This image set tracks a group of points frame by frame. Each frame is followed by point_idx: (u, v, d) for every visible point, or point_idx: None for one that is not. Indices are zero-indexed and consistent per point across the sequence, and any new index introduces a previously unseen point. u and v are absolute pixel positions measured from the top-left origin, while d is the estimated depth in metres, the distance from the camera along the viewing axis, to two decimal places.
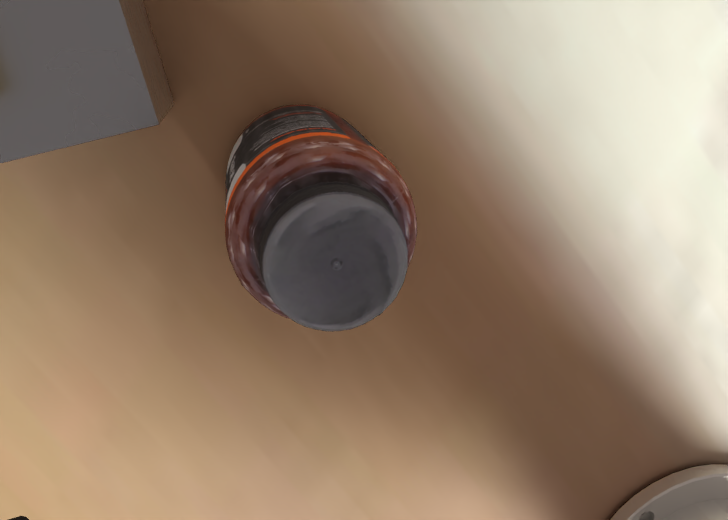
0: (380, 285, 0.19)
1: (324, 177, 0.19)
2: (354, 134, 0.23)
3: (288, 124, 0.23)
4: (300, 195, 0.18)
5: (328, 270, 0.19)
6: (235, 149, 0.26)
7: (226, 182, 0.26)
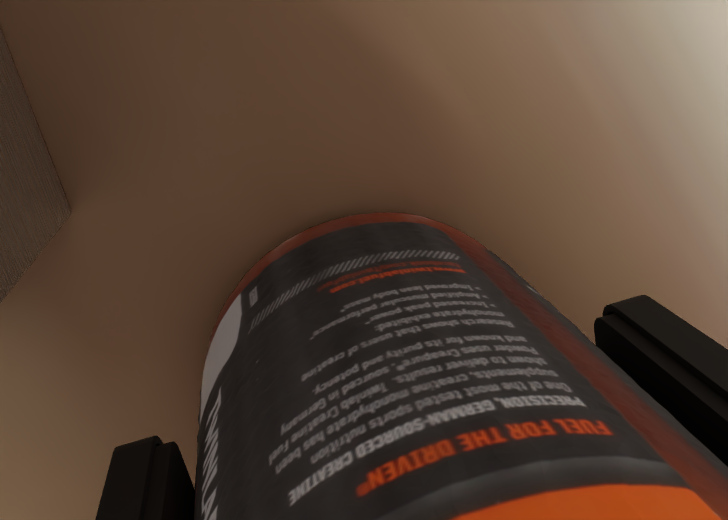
0: None
1: None
2: (627, 394, 0.07)
3: (399, 357, 0.07)
4: None
5: None
6: (222, 353, 0.10)
7: (197, 453, 0.09)
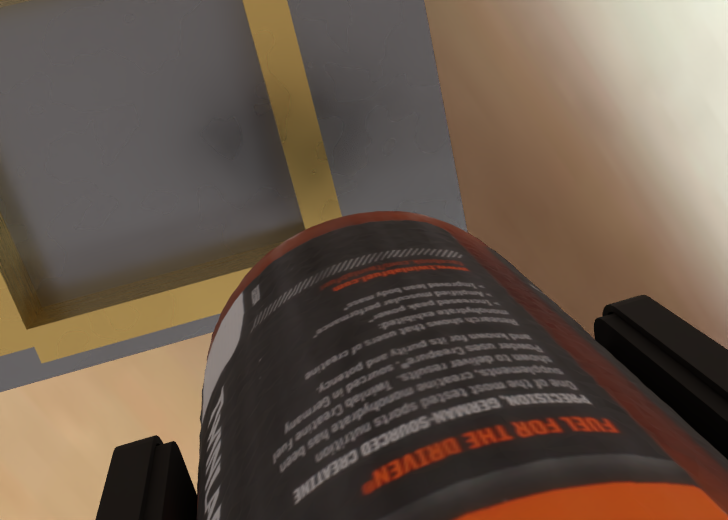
0: None
1: None
2: (633, 392, 0.07)
3: (404, 355, 0.07)
4: None
5: None
6: (224, 351, 0.10)
7: (200, 451, 0.09)
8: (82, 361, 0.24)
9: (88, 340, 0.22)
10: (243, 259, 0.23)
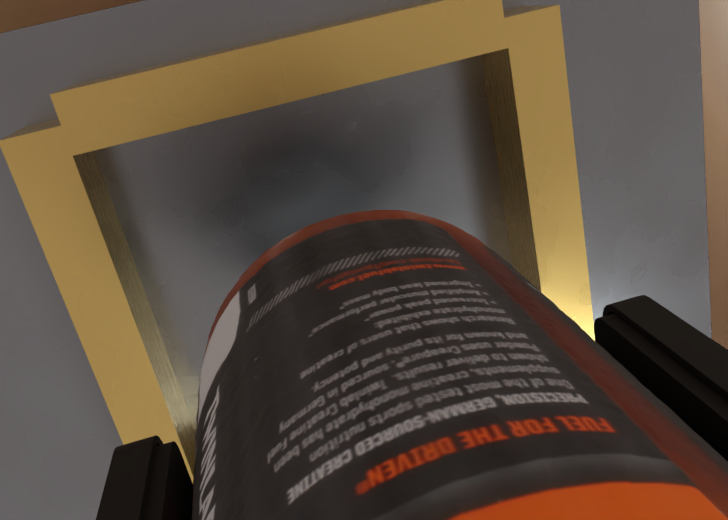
0: None
1: None
2: (630, 391, 0.07)
3: (399, 354, 0.07)
4: None
5: None
6: (220, 351, 0.10)
7: (195, 451, 0.09)
8: None
9: None
10: None
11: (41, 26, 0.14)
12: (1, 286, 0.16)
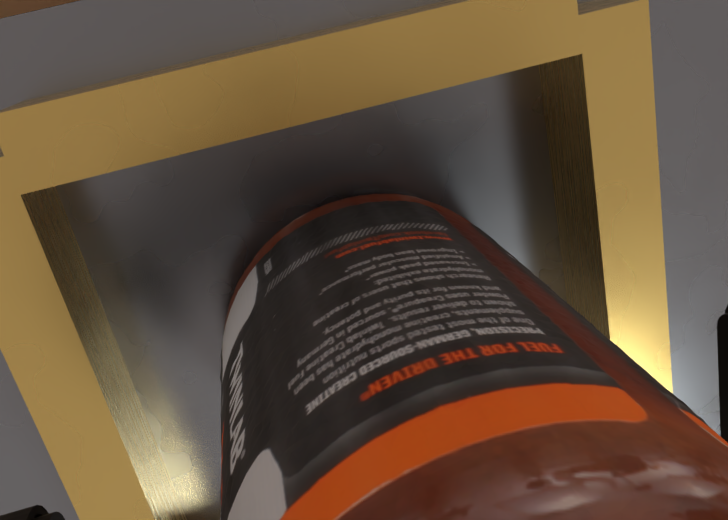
0: None
1: None
2: (583, 331, 0.08)
3: (394, 302, 0.08)
4: None
5: None
6: (242, 315, 0.11)
7: (222, 400, 0.11)
8: None
9: None
10: None
11: None
12: None
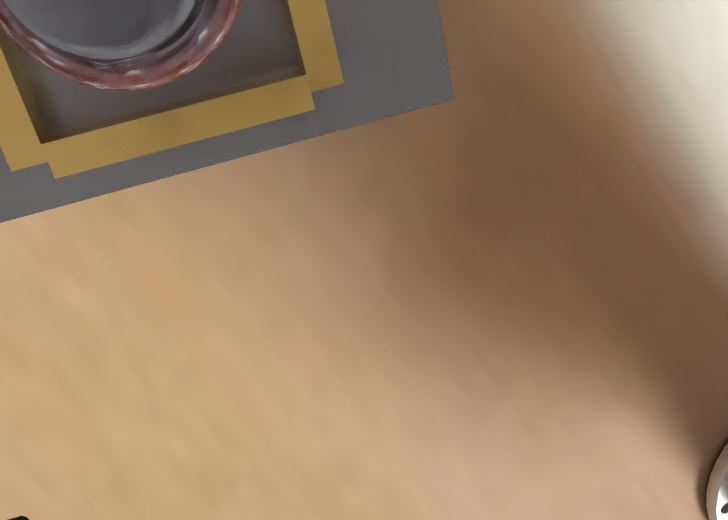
0: None
1: None
2: None
3: None
4: None
5: None
6: None
7: None
8: (90, 190, 0.25)
9: (98, 157, 0.23)
10: (242, 87, 0.24)
11: None
12: None
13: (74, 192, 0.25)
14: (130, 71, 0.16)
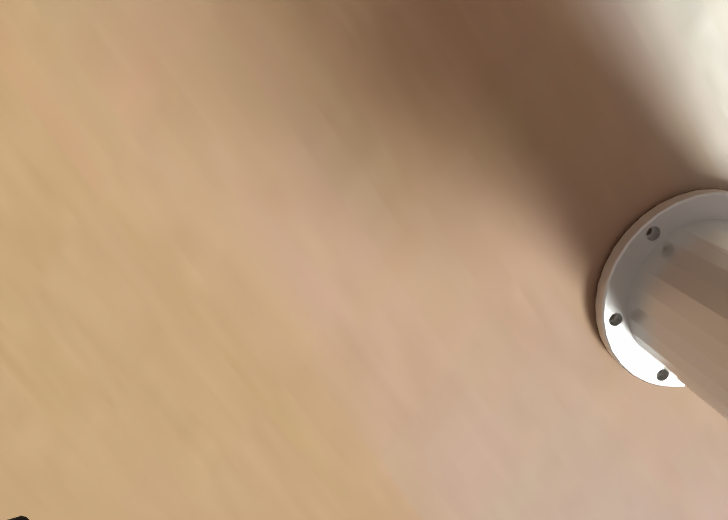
0: None
1: None
2: None
3: None
4: None
5: None
6: None
7: None
8: None
9: None
10: None
11: None
12: None
13: None
14: None
